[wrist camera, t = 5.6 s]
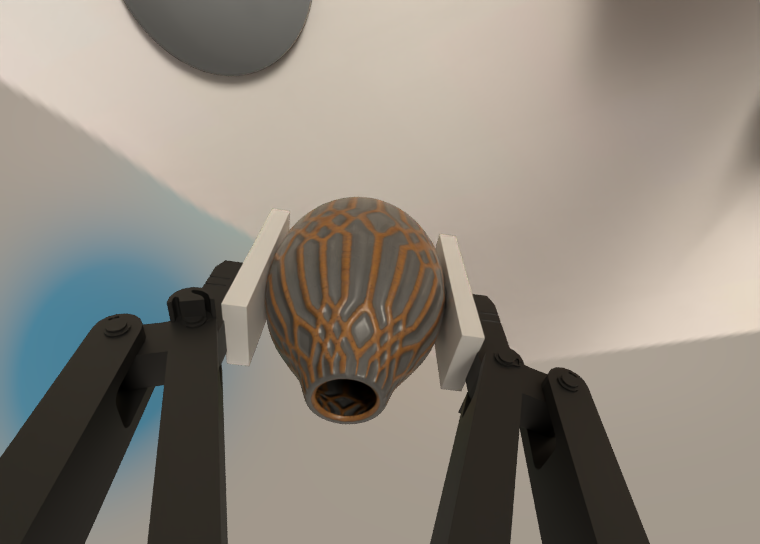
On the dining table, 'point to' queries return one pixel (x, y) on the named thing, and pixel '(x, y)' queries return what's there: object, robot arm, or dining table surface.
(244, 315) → the robot arm
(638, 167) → the dining table surface
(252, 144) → the dining table surface
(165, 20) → the grey flat disc
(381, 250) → the vase
